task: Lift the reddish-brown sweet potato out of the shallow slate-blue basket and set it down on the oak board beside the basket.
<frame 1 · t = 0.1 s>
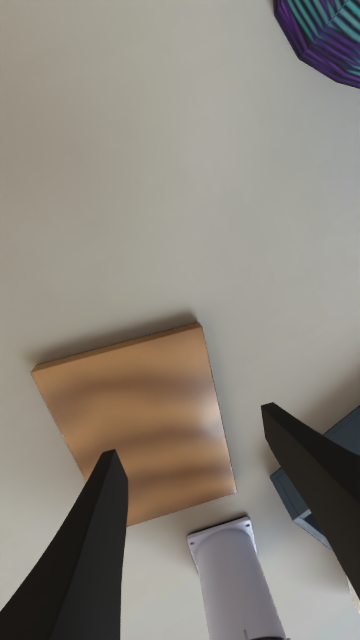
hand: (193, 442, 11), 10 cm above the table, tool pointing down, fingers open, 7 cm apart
low basket: (354, 456, 28), on the table
oak board: (150, 432, 23), on the table
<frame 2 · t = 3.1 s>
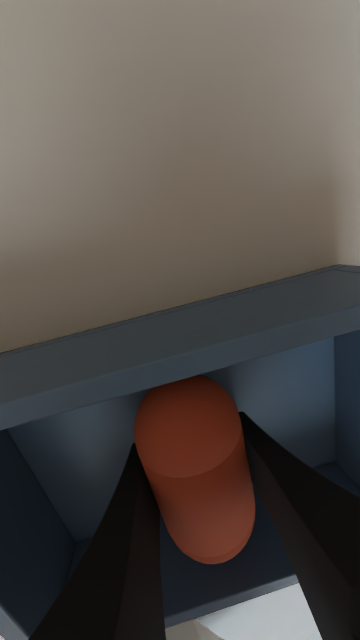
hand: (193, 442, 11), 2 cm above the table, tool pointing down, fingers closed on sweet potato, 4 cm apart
sweet potato: (189, 428, 12), point 1 cm above the table, touching gripper, low basket
low basket: (188, 420, 13), on the table
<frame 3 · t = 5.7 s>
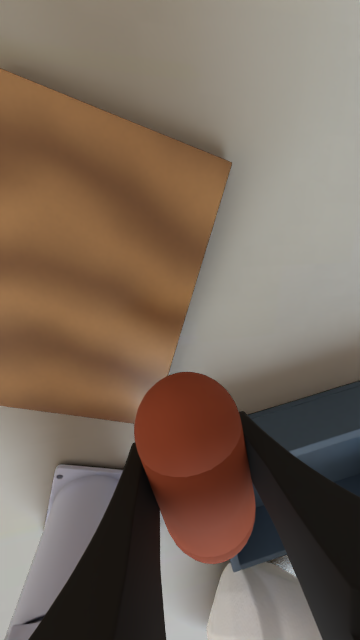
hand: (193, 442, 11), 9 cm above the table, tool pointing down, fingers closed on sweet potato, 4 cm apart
sweet potato: (189, 428, 12), point 8 cm above the table, touching gripper
low basket: (288, 452, 24), on the table
decorative rooster: (234, 581, 30), on the table
oak board: (90, 286, 17), on the table
when the fingers open (2 cm above the table, at t = 8.3 s): sweet potato stays where it is, resting on oak board.
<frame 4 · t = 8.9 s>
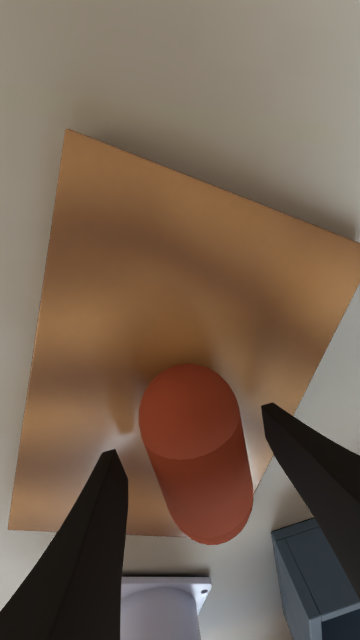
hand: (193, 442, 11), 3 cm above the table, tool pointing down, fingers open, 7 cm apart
sweet potato: (187, 420, 13), point 1 cm above the table, touching oak board
oak board: (173, 388, 13), on the table
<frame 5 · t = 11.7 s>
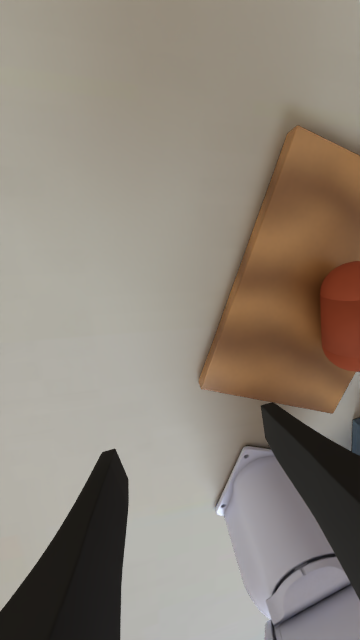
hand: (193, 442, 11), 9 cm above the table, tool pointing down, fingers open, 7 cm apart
sweet potato: (324, 314, 19), point 1 cm above the table, tilted 22°, touching oak board
oak board: (309, 296, 20), on the table
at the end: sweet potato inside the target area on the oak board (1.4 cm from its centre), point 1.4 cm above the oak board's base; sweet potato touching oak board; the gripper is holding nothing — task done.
